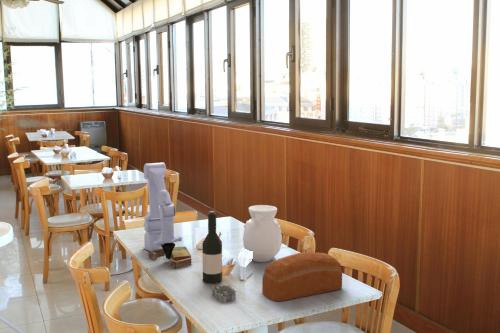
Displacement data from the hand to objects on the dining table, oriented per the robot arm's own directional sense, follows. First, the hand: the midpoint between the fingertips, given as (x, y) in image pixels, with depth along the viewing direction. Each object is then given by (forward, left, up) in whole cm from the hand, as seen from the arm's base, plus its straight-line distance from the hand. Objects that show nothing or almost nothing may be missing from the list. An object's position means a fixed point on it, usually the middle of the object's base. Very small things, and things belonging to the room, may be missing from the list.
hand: (168, 258), depth 270 cm
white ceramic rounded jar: (+27, +35, -2) cm, 44 cm away
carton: (+1, +6, -2) cm, 7 cm away
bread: (+67, +19, -2) cm, 70 cm away
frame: (0, +1, -1) cm, 2 cm away
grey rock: (+51, -9, -2) cm, 52 cm away
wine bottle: (+34, -1, -2) cm, 34 cm away
